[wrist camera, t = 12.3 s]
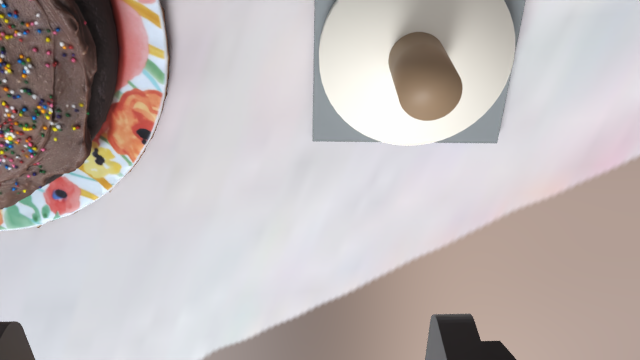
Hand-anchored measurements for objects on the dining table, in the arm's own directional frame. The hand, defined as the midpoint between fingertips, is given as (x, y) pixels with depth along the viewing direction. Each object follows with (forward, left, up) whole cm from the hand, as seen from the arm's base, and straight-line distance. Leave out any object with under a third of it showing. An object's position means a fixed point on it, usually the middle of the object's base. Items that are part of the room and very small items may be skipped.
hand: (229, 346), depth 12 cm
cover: (+3, +8, -25) cm, 26 cm away
